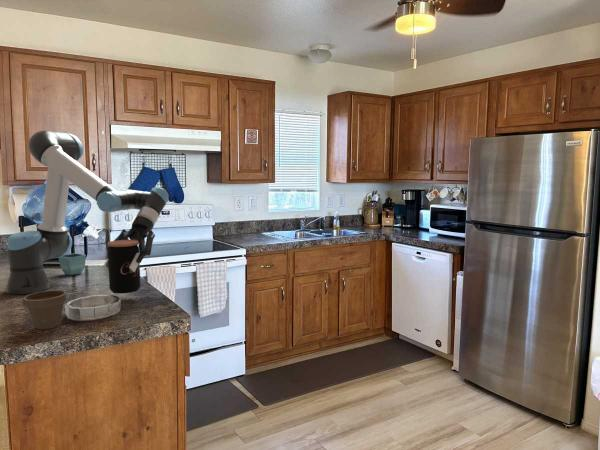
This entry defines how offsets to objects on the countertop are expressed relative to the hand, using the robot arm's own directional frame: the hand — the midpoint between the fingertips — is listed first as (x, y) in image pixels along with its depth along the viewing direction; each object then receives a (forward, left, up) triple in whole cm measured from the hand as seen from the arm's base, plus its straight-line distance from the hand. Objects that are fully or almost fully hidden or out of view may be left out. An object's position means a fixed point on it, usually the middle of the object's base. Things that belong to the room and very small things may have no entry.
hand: (118, 268), depth 167 cm
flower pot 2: (-55, +33, -13) cm, 65 cm away
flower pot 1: (-3, -29, -13) cm, 32 cm away
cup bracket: (+1, -14, -12) cm, 18 cm away
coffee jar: (0, +3, -9) cm, 9 cm away
